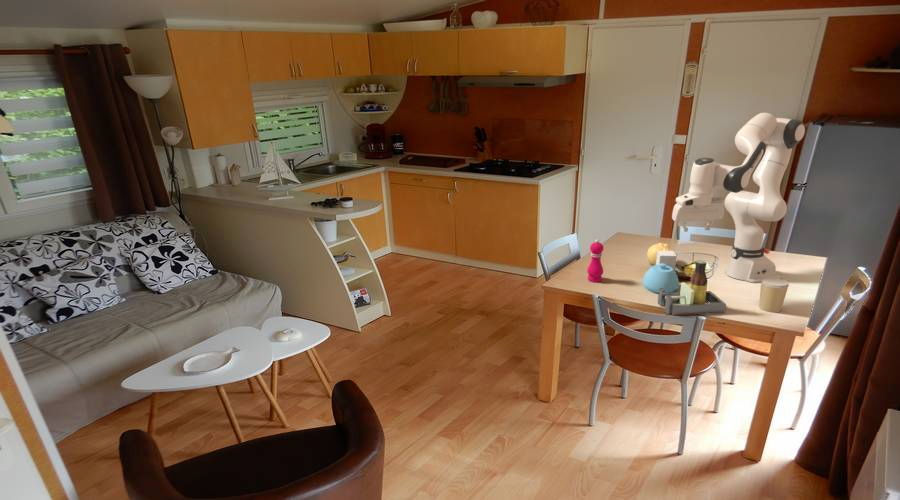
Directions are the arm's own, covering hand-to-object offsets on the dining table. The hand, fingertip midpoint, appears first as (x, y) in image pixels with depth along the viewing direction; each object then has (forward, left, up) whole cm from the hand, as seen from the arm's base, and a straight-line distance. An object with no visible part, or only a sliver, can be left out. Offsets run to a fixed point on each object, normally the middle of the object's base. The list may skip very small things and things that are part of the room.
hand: (696, 230), depth 215 cm
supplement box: (+3, -17, -29) cm, 34 cm away
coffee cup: (-26, +17, -29) cm, 42 cm away
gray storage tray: (+5, +13, -29) cm, 32 cm away
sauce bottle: (+3, +13, -29) cm, 32 cm away
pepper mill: (+35, -19, -29) cm, 49 cm away
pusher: (+11, +13, -28) cm, 33 cm away
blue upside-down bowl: (+9, -7, -29) cm, 31 cm away
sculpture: (-2, -35, -29) cm, 45 cm away
